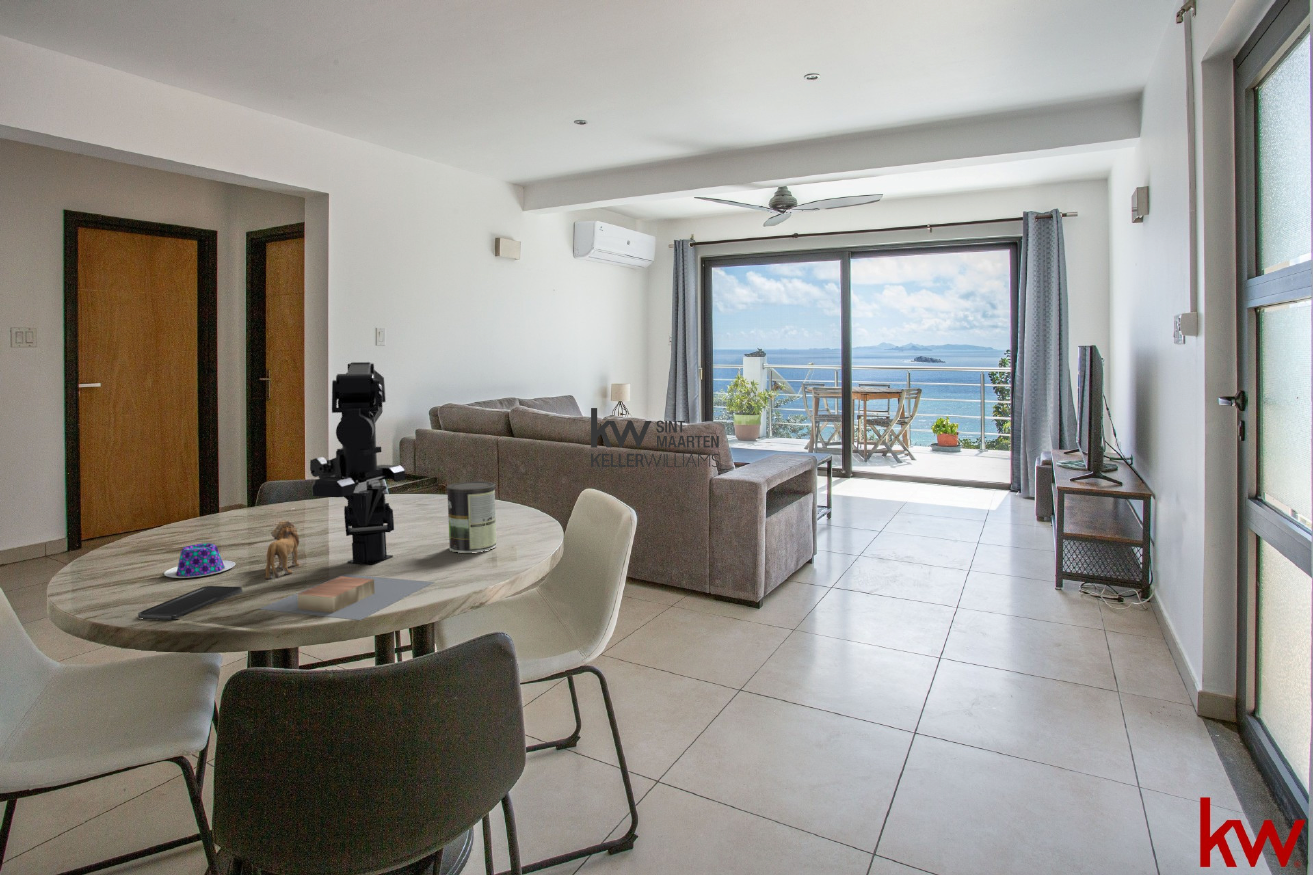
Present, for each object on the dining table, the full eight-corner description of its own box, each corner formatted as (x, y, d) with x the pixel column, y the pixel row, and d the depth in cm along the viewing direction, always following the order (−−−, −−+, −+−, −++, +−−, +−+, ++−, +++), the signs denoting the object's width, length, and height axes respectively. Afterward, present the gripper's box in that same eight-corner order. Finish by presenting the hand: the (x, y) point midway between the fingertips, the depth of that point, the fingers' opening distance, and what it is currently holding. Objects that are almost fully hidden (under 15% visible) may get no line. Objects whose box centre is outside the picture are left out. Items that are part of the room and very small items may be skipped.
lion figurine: (273, 562, 145) (270, 520, 144) (302, 559, 147) (299, 517, 146) (262, 582, 132) (259, 535, 131) (294, 579, 133) (291, 532, 133)
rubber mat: (344, 576, 135) (344, 574, 135) (434, 584, 129) (434, 582, 129) (258, 611, 116) (258, 608, 116) (360, 622, 110) (360, 619, 110)
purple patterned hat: (206, 581, 133) (204, 554, 133) (148, 580, 135) (146, 553, 134) (249, 564, 145) (247, 539, 145) (195, 563, 147) (193, 538, 146)
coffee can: (445, 555, 150) (442, 489, 148) (453, 543, 160) (451, 481, 158) (494, 553, 151) (492, 488, 149) (499, 541, 161) (497, 480, 159)
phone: (134, 614, 113) (206, 585, 128) (134, 621, 113) (206, 591, 128) (178, 616, 112) (245, 586, 127) (178, 623, 112) (245, 592, 127)
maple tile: (340, 576, 125) (297, 593, 115) (373, 579, 123) (332, 597, 113) (341, 590, 125) (298, 608, 116) (374, 593, 123) (333, 612, 114)
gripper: (356, 435, 140) (360, 512, 141) (283, 447, 122) (289, 535, 124) (405, 437, 137) (408, 515, 138) (337, 449, 119) (342, 539, 120)
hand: (363, 525), depth 130 cm, fingers closed
